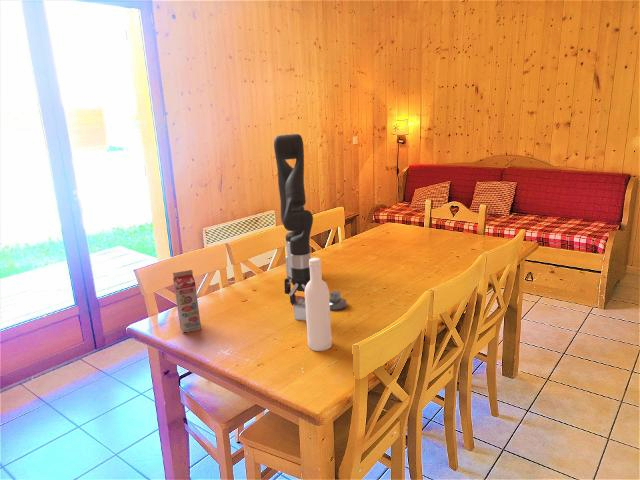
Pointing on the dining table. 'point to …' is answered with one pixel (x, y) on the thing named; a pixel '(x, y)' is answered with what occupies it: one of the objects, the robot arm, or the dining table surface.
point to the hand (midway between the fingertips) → (303, 306)
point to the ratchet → (332, 301)
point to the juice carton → (186, 301)
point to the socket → (300, 310)
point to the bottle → (317, 309)
